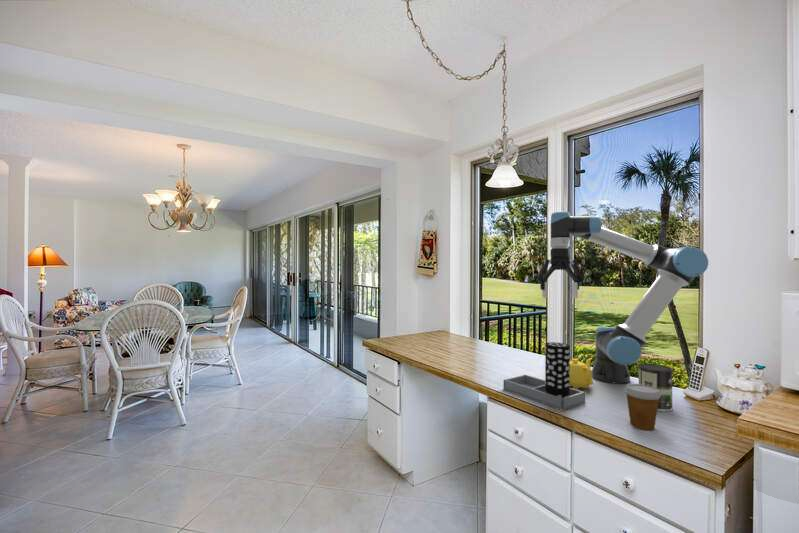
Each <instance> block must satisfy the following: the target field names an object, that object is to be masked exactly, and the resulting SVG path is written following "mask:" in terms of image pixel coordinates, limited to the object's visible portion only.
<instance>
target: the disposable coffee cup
mask: <svg viewBox="0 0 799 533" xmlns="http://www.w3.org/2000/svg"><path fill="white" fill-rule="evenodd" d="M624 391H625V393H626V399H627V406H628V414H629V421H630V422H629V423H630V426H632V427H633V428H635V429H637V430H642V431H654V430H655V426H656V421H657V415H658V414H657V413H658V411H657V409H658V402H659V398H660V397H661V394H660V393H659V390H658V389H656V388H654V387H651V386H647V385H641V384H639V383H629V384H627V385H626V387H625V388H624Z"/></svg>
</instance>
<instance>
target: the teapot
mask: <svg viewBox="0 0 799 533" xmlns="http://www.w3.org/2000/svg"><path fill="white" fill-rule="evenodd" d="M592 360H593V357H589V358H587V359H586V362H583V361H579V359H578V358H572V359H571V360H570V387H572V388H573V389H576V390H579V389H580V388H582V387H583V388H582V389H586V388H588V389H589V386H592V385H593V384H594V382H593V381H594V380H593V377H592V368H591V361H592ZM579 391H580V390H579Z"/></svg>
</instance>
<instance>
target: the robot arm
mask: <svg viewBox="0 0 799 533" xmlns="http://www.w3.org/2000/svg"><path fill="white" fill-rule="evenodd" d="M602 224H603V221H602V218H601V216H599V215H582V216H581V215H580V216H578V215H577V216H575V215H574V216H572V215H571V213H570V212H569V211H566V210H565V211H562V210H561V211H555V212H552V213H551V215H550V259H543V262H542V266H540V267H541V268H540V269H539V271H538V274H537V276H536V278H535V280H536V281H537V282H540V286H539V287H540V290H541V297H542V298H545V299H548V282H547V280H548V279H549V278H550V276H551V275H552V274H553V273H554V271H558V270H559V271H562V270H563V271H565V272H566V273H567V274H568V276H569V277H570V278H571V280H572V281H574V282H572V283H571V284H572V288H571V291H572V292H571V293H572V297H571V298H574V299H578V291H579V290H580V283H581V282H583V281H584V279H585V278H584V277H583V274H582V272H581V270H580V269H579V265H578V261H577V260H578V259H575V258H573V259H570V248H569V247H570V242H571V241H570V238H571V237H570V236H572V237H576V238H580V239H583V240H587V241H590V242H591V243H594V244H597V245H600V246H601V247H605V248H608V249H610V250H613V251H615V252H618V253H620V254H623V255H625V256H629V257H631V258H634V259H636V260H639V261H641V262H643V263H644V265H646V266H648V267H650V268H653V269H655V270H657V273H658V276H657V277H656V279H655V281H654V282H653V283H652V285H651V286H650V287H649V289H648V290H647V291H646V293H645V294H644V295H643V296H642V298H641V299H640V300H639V302H638V304H637V305H636V306H635V308H634V309H633V310H632V312H631V313H630V314H629V316H628V317H627V318H626V320H625V321H624V323H622V324H617V325H616V326H615V327H614V326H613V327H612V326H611V327H610V326H609V327H608V326H598V327H596V330H595V361H594V363H593V367H592V368H591V371H592V379H595V380H597V381H600V380H601V381H600V382H604V381H605V383H609V382H615V383H614V384H628V383H630V382H631V374H630V372H629V369H628V367H627V366H629V365H632V364H635V363H637V362H638V361H639V360H640V359H641V356H642V353H643V352H642V349H643V347H644V345H645V344H646V342H647V340H646V335H647V334H648V333H649V331H650V329H651V328H652V327H653V326H654V325H655V324H656V322H657V321H658V319H659V318H660V317H661V315H662V314H663V313H664V311H665V310H666V309H667V307H668V306H669V305H670V303H671V302H672V300H673V299H675V298H674V297H676V295H677V294H678V292H679V291H680V290H681V289H682V287H683V288H684V287H688V286H690V284H691V283H692V282H693V280H694V279H695V278H696V277H700V276H701V275H703V274H704V273H705V272H706V271H707V269H708V266H709V258H708V255H707V254H706V253H705V252H704V251H703V250H702V249H700V248H698V247H695V246H688V245H684V246H681V247H665V246H662V245H659V244H648V243H646V242H643V241H642V240H638V239H635V238H633V237H629V236H627V235H625V234H622V233H619V232H616V231H613V230H610V229H608V228H605V227H603V226H602ZM549 265H550V266H549ZM569 265H570V266H571V267H570V266H569ZM548 266H549V268H548ZM627 382H628V383H627Z"/></svg>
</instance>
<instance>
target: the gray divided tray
mask: <svg viewBox="0 0 799 533" xmlns="http://www.w3.org/2000/svg"><path fill="white" fill-rule="evenodd" d="M503 391H506V392H509V393H511V394H515V395H517V396H519V397H523V398H526V399H527V400H532V401H535V402H537V403H540V404H543V405H546V406H549V407H551V408H554V409H557V408H558V409H557V410H559V409H561V410H560V411H562V410H564V411H567V410H570V409H572V407H573V408H575V407H578V406H581V405H583V404H586V392H585V391H582V390H576V389H573V387H572V388H571V387H570V396H568V397H565V398H560V397H557V396H554V395H551V394H548V393H545V379H541V378H537V377H534V376H532V375H528V374H522V375H518V376H514V377H511V378H510V377H508V378H505V379H503ZM569 408H570V409H569ZM566 409H567V410H566Z"/></svg>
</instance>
